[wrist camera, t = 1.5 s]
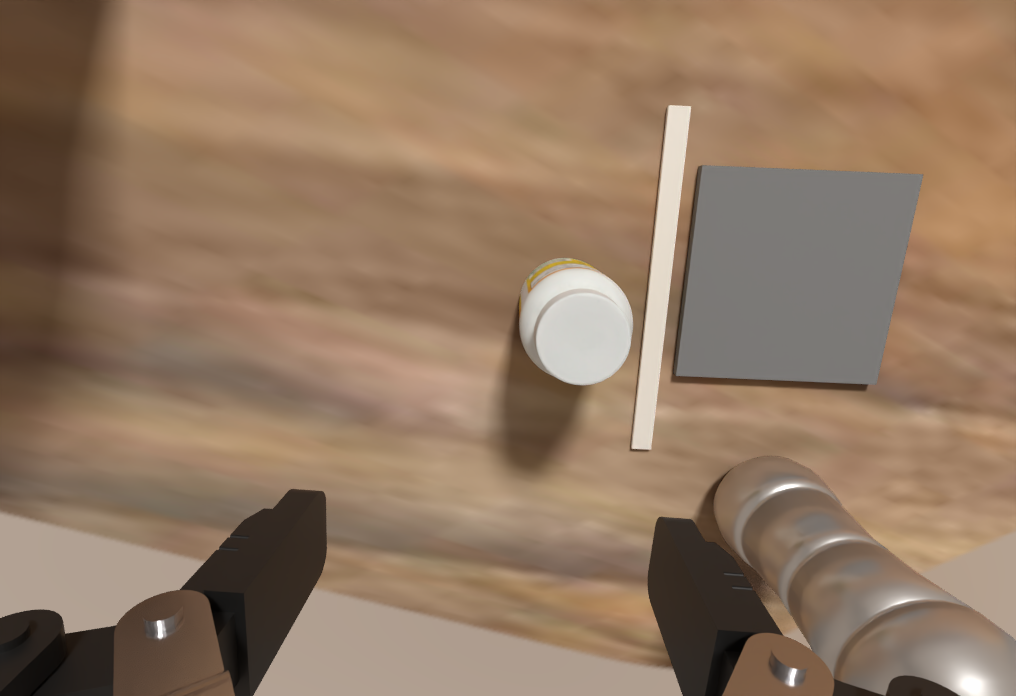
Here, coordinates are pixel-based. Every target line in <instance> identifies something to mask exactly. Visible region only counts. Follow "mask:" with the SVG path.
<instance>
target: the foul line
mask: <svg viewBox="0 0 1016 696" xmlns="http://www.w3.org/2000/svg"><path fill="white" fill-rule="evenodd" d="M690 111H691V106H671V105H669V106H667V113H666V122H665V131H664V141H663V150H662V159H661V169H660V178H659V188H658V197H657V206H656V216H655V225H654V235H653V244H652V253H651V263H650V272H649V281H648V291H647V300H646V310H645V319H644V328H643V338H642V347H641V356H640V366H639V375H638V385H637V394H636V403H635V413H634V422H633V432H632V441H631V448H632V449H649V450H651V445H652V436H653V428H654V419H655V411H656V402H657V393H658V385H659V376H660V368H661V359H662V351H663V342H664V334H665V325H666V316H667V308H668V299H669V291H670V282H671V274H672V265H673V257H674V248H675V240H676V231H677V222H678V214H679V205H680V197H681V188H682V180H683V171H684V163H685V154H686V145H687V137H688V128H689V120H690Z"/></svg>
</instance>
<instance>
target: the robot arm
mask: <svg viewBox="0 0 1016 696" xmlns="http://www.w3.org/2000/svg"><path fill="white" fill-rule="evenodd" d="M326 551H327V538H326V497H325V494H324V492H323V491H312V490H299V489H291V490H289V491H288V492H287V493H286V494H285V496H284V497H283V498H282V499H281V500H280V501H279V503H278V504H277V505H276V506H275V507H274V508H273V509H263V510H261V511H259V512H257V513H256V514H254V515H252V516H250V517H249V518H247V519H245V520H244V521H243V522H242V523H241V524H240V525H239V526H238V527H237V528H236V529H235V531H234V532H233V533H232V534H231V536H230V538H227V539H226V540H225V541H224V542H223V543H222V545H221V546H220V547H219V550H216V551H215V552H214V553H213V554H212V555H211V556H210V558H209V559H208V560H207V561H206V562H205V563H204V564H203V565H202V566H201V567H200V568H199V569H198V570H197V572H196V573H195V574H194V575H193V576H192V577H191V578H190V579H189V580H188V581H187V582H186V583H185V585H184V586H183V587H182V588H181V589H180V590H176V591H170V592H166V593H162V594H159V595H156V596H153V597H151V598H149V599H146V600H144V601H143V602H141V603H139V604H137V605H136V606H134V607H133V608H132V609H130V610H129V611H128V612H127V613H126V614H125V615H124V616H123V617H122V618H121V619H120V620H119V622H118V623H117V625H116V626H111V627H105V628H99V629H92V630H86V631H80V632H74V633H67V634H65V631H64V625H63V620H62V617H61V616H60V615H59V614H58V613H56V612H54V611H50V610H30V611H24V612H19V613H15V614H11V615H8V616H5V617H2V618H0V696H253V695H254V693H255V691H256V690H257V688H258V686H259V684H260V682H261V681H262V679H263V677H264V675H265V673H266V672H267V670H268V668H269V666H270V665H271V663H272V661H273V659H274V658H275V656H276V654H277V652H278V650H279V649H280V647H281V645H282V643H283V641H284V639H285V638H286V636H287V634H288V633H289V631H290V629H291V627H292V625H293V624H294V622H295V620H296V618H297V616H298V615H299V613H300V611H301V610H302V608H303V606H304V604H305V602H306V600H307V599H308V597H309V595H310V593H311V592H312V590H313V588H314V586H315V585H316V583H317V581H318V579H319V577H320V575H321V573H322V570H323V567H324V563H325V559H326ZM648 593H649V599H650V603H651V606H652V608H653V611H654V614H655V617H656V620H657V623H658V626H659V629H660V631H661V634H662V637H663V640H664V643H665V646H666V649H667V651H668V654H669V657H670V660H671V663H672V666H673V669H674V672H675V674H676V677H677V680H678V683H679V686H680V689H681V692H682V694H683V696H884V695H881V694H878V693H875V692H872V691H869V690H866V689H863V688H859V687H856V686H853V685H850V684H847V683H844V682H841V681H839V680H836V679H834V678H833V676H832V673H831V671H830V670H829V668H828V667H827V665H826V664H825V663H824V662H823V660H822V659H821V658H820V657H819V656H818V655H817V654H815V653H814V652H813V651H811V650H810V649H809V648H807V647H806V646H804V645H803V644H801V643H799V642H797V641H795V640H793V639H791V638H788V637H785V636H783V634H782V633H781V631H780V630H779V628H778V627H777V625H776V623H775V622H774V620H773V619H772V617H771V616H770V614H769V613H768V611H767V609H766V608H765V606H764V605H763V603H762V602H761V600H760V599H759V597H758V595H757V594H756V592H755V591H753V590H752V586H751V585H750V583H749V581H748V580H747V578H746V577H744V576H743V572H742V571H741V569H740V567H739V566H738V564H737V563H736V561H735V560H734V558H733V557H732V556H731V555H730V554H728V553H727V552H726V551H725V550H723V549H722V548H721V547H720V546H719V545H717V544H716V543H714V542H705V540H704V539H703V537H702V535H701V533H700V532H699V530H698V528H697V527H696V525H695V523H694V522H693V520H691V519H682V518H669V517H659V518H658V519H657V522H656V526H655V532H654V538H653V545H652V551H651V558H650V564H649V571H648ZM885 696H960V695H958V694H957V693H955V692H953V691H951V690H950V689H948V688H946V687H944V686H942V685H940V684H938V683H935V682H933V681H930V680H927V679H924V678H920V677H916V676H907V675H904V676H898V677H895V678H893V679H892V680H891V681H890V683H889V685H888V689H887V692H886V695H885Z"/></svg>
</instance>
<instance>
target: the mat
mask: <svg viewBox="0 0 1016 696" xmlns="http://www.w3.org/2000/svg"><path fill="white" fill-rule="evenodd" d="M922 178H923V174H900V173H876V172H852V171H827V170H803V169H779V168H755V167H730V166H706V165H702V166H699V168H698V176H697V184H696V192H695V200H694V208H693V216H692V225H691V233H690V241H689V249H688V257H687V265H686V273H685V281H684V289H683V297H682V305H681V314H680V322H679V330H678V338H677V346H676V354H675V362H674V370H673V373H674V374H675V375H676V376H692V377H715V378H737V379H760V380H783V381H806V382H829V383H851V384H874V385H876V383H877V379H878V375H879V370H880V366H881V361H882V357H883V352H884V348H885V343H886V339H887V334H888V330H889V325H890V321H891V317H892V312H893V308H894V303H895V299H896V294H897V290H898V285H899V281H900V276H901V272H902V267H903V263H904V259H905V254H906V250H907V245H908V241H909V236H910V232H911V227H912V223H913V218H914V214H915V210H916V205H917V201H918V196H919V192H920V187H921V183H922Z"/></svg>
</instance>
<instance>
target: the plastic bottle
mask: <svg viewBox="0 0 1016 696" xmlns="http://www.w3.org/2000/svg"><path fill="white" fill-rule="evenodd" d="M713 506H714V515H715V518H716V521H717V524H718V527H719V530H720V532H721V534H722V536H723V538H724V540H725V542H726V543H727V544H728V545H729V546H730V547H731V548H732V549H733V550H734V551H735V552H736V553H737V554H738V555H739V556H740V557H741V559H742V560H743V561H745V562H746V563H747V564H748V565H750V566H751V567H752V568H754V569H755V570H756V572H757V573H758V574H759V575H760V576H761V577H762V579H763V580H764V581H765V582H766V583H767V584H768V585H769V587H770V588H771V589H772V590H773V591H774V592H775V594H776V595H777V596H778V597H779V598H780V599H781V601H782V602H783V604H784V605H785V607H786V609H787V610H788V612H789V613H790V615H791V616H792V617H793V619H794V621H795V623H796V624H797V626H798V628H799V629H800V631H801V632H802V634H803V635H804V637H805V638H806V640H807V642H808V643H809V645H810V647H811V649H812V651H813V652H814V653H815V654H817V655H818V656H819V657H820V658H821V659H822V660H823V662H824V663H825V664H826V665H827V667H828V668H829V670H830V671H831V673H832V676H833V678H834V679H836V680H839V681H841V682H844V683H847V684H850V685H853V686H856V687H859V688H863V689H866V690H869V691H872V692H875V693H878V694H881V695H884V696H885V695H886V692H887V689H888V685H889V683H890V681H891V680H892V679H893V678H895V677H898V676H904V675H907V676H916V677H920V678H924V679H927V680H930V681H933V682H935V683H938V684H940V685H942V686H944V687H946V688H948V689H950V690H951V691H953V692H955V693H957V694H958V695H960V696H1016V641H1015V639H1014V638H1013V637H1012V636H1010V635H1009V634H1008V633H1006V632H1005V631H1004V630H1002V629H1001V628H999V627H998V626H997V625H995V624H994V623H993V622H991V621H990V620H989V619H987V618H986V617H985V616H983V615H982V614H980V613H979V612H977V611H975V610H974V609H972V608H971V607H970V606H968V605H967V604H965V603H963V602H962V601H960V600H959V599H957V598H956V597H954V596H952V595H951V594H950V593H948V592H946V591H945V590H943V589H942V588H940V587H939V586H937V585H936V584H934V583H932V582H931V581H929V580H928V579H926V578H925V577H923V576H922V575H920V574H919V573H917V572H916V571H914V570H913V569H912V568H911V567H909V566H908V565H907V564H905V563H904V562H903V561H902V560H900V559H899V558H898V557H896V556H895V555H894V554H892V553H891V552H890V551H888V550H887V549H886V548H885V547H884V546H882V545H881V544H880V543H878V542H877V541H876V540H875V539H873V538H872V537H871V536H870V535H869V534H868V533H867V532H866V530H865V529H864V528H863V527H862V526H861V525H860V524H859V523H858V522H857V521H856V520H855V519H854V518H853V517H852V516H851V515H850V514H849V513H848V512H847V511H846V509H845V508H844V507H843V506H842V504H841V503H840V501H839V500H838V498H837V497H836V495H835V494H834V493H833V492H832V491H831V489H830V488H829V487H828V486H827V485H826V483H825V482H824V481H823V480H822V479H821V478H820V477H819V475H817V474H816V473H815V472H813V471H812V470H811V469H809V468H807V467H805V466H803V465H801V464H799V463H797V462H795V461H792V460H790V459H788V458H784V457H779V456H764V457H757V458H754V459H750V460H747V461H745V462H743V463H741V464H739V465H737V466H736V467H734V468H733V469H732V470H730V471H729V472H728V473H727V475H726V476H725V477H724V478H723V480H722V481H721V483H720V485H719V486H718V489H717V491H716V494H715V498H714V503H713Z"/></svg>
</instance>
